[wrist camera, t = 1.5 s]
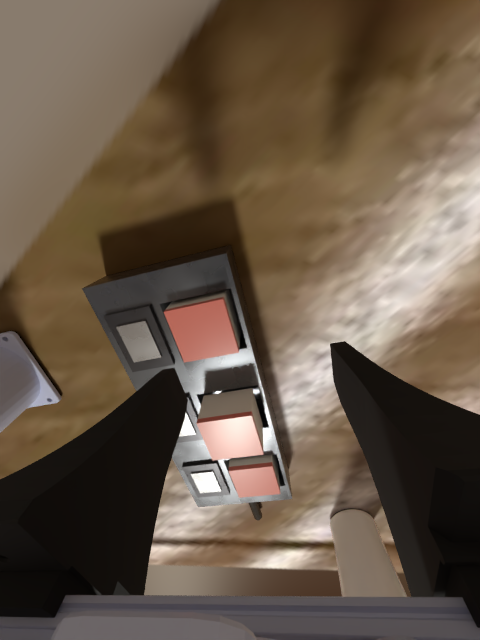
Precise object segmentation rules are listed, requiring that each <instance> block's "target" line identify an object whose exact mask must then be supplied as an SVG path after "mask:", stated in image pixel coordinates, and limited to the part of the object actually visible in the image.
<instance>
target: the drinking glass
mask: <svg viewBox="0 0 480 640" xmlns="http://www.w3.org/2000/svg"><path fill="white" fill-rule="evenodd" d="M330 528H331V533H332V537H333V542H334V547H335V554H336V560H337V566H338V572H339V579H340V584H341V592H342V597H407V595H406V593H405V591H404V589H403V587H402V584H401V582H400V580H399V577H398V575H397V573H396V571H395V568H394V566H393V564H392V561H391V559H390V557H389V555H388V552H387V550H386V548H385V545H384V543H383V541H382V539H381V536H380V533H379V531H378V528H377V525H376V523H375V520H374V519H373V517H372V516H371V515H370V514H368V513H367V512H365V511H362V510H357V509H348V510H343V511H340V512H338V513H336V514H335V515H334V516H333V517H332V519H331V521H330Z"/></svg>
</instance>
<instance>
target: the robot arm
mask: <svg viewBox="0 0 480 640" xmlns="http://www.w3.org/2000/svg"><path fill="white" fill-rule="evenodd" d="M330 347H331V357H332V368H333V378H334V383H335V387H336V390H337V393H338V396H339V399H340V402H341V404H342V407H343V409H344V411H345V413H346V415H347V418H348V420H349V422H350V424H351V426H352V428H353V431H354V433H355V435H356V437H357V439H358V442H359V444H360V446H361V448H362V450H363V453H364V455H365V458H366V460H367V463H368V465H369V468H370V471H371V474H372V477H373V480H374V483H375V485H376V488H377V491H378V494H379V497H380V500H381V503H382V506H383V509H384V512H385V515H386V518H387V521H388V524H389V527H390V530H391V533H392V536H393V539H394V542H395V545H396V549H397V552H398V555H399V558H400V561H401V564H402V568H403V571H404V574H405V577H406V580H407V584H408V587H409V590H410V593H411V596H412V597H334V596H333V597H332V596H327V597H326V596H324V597H323V596H153V595H152V596H150V595H146V596H145V595H144V590H145V583H146V576H147V570H148V563H149V556H150V551H151V545H152V539H153V534H154V528H155V523H156V518H157V513H158V508H159V503H160V499H161V494H162V490H163V486H164V482H165V477H166V474H167V471H168V467H169V464H170V461H171V458H172V455H173V452H174V449H175V447H176V444H177V441H178V438H179V435H180V432H181V429H182V426H183V422H184V419H185V414H186V409H187V403H188V399H187V397H186V394H185V392H184V389H183V387H182V385H181V382H180V380H179V377H178V375H177V373H176V370H175V368H169V369H163V370H161V371H160V372H159V373H157V374H156V375H155V376H154V377H152V378H151V379H150V380H149V381H148V382H147V383H146V384H144V385H143V386H142V387H141V388H140V389H139V390H138V391H136V392H135V393H134V394H133V395H132V396H131V397H130V398H128V399H127V400H126V401H125V402H124V403H122V404H121V405H120V406H119V407H117V408H116V409H115V410H114V411H113V412H111V413H110V414H109V415H108V416H106V417H105V418H104V419H102V420H101V421H100V422H98V423H97V424H96V425H94V426H93V427H91V428H90V429H88V430H87V431H86V432H84V433H83V434H81V435H80V436H78V437H76V438H75V439H73V440H72V441H70V442H68V443H67V444H65V445H64V446H62V447H60V448H59V449H57V450H56V451H54V452H52V453H50V454H49V455H47V456H45V457H43V458H42V459H40V460H38V461H36V462H34V463H32V464H30V465H29V466H27V467H25V468H23V469H21V470H19V471H17V472H15V473H13V474H11V475H9V476H7V477H5V478H2V479H0V640H480V415H478V414H476V413H473V412H471V411H468V410H465V409H463V408H460V407H458V406H455V405H453V404H451V403H448V402H446V401H443V400H441V399H439V398H437V397H434V396H432V395H430V394H428V393H426V392H424V391H422V390H420V389H418V388H416V387H414V386H412V385H410V384H408V383H406V382H404V381H403V380H401V379H399V378H397V377H396V376H394V375H392V374H391V373H389V372H387V371H386V370H384V369H383V368H381V367H380V366H378V365H377V364H375V363H374V362H372V361H371V360H369V359H368V358H367V357H365V356H364V355H363V354H361V353H360V352H358V351H357V350H356V349H355V348H353V347H352V346H351V345H349V344H348V343H346V342H345V341H344V342H338V343H331V344H330ZM60 400H61V396H60V394H59V393H58V391H57V390H56V389H55V387H54V386H53V384H52V383H51V381H50V380H49V378H48V377H47V376H46V374H45V373H44V371H43V370H42V368H41V367H40V366H39V364H38V363H37V361H36V360H35V358H34V357H33V355H32V354H31V353H30V351H29V350H28V348H27V347H26V345H25V344H24V343H23V341H22V340H21V338H20V337H19V335H18V334H17V333H15V332H13V331H8V332H4V333H0V432H1V431H3V430H4V429H5V428H6V427H7V426H8V425H9V424H10V423H11V422H12V421H13V420H15V419H16V418H17V417H18V416H19V415H20V414H21V413H22V412H23V411H24V410H25V409H26V408H29V407H35V406H41V405H47V404H53V403H58V402H59V401H60Z"/></svg>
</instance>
